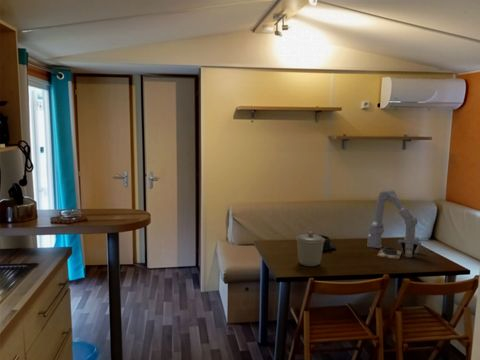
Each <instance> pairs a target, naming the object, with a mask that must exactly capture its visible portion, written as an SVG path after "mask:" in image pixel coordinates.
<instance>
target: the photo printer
mask: <svg viewBox="0 0 480 360" xmlns="http://www.w3.org/2000/svg"><path fill="white" fill-rule="evenodd" d="M405 237H406V234H405V235H404V237H403V240H405ZM414 241H416V242H420V238H419V237H418V236H417V235H415V238H414ZM405 248H411V249H413V244H406V245H405ZM418 253H419V245H418V246H417V248H416V250H415V252H414V254H418Z"/></svg>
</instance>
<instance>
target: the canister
mask: <svg viewBox="0 0 480 360" xmlns="http://www.w3.org/2000/svg"><path fill="white" fill-rule="evenodd" d="M319 235H320V234H315V233H314V232H313V231H311V230H310V231H308V232H307V233H304V234H298V235H297V236H295V240H296V245H297V246H296V247H297V257H298V259H297V260H298V263H300V265H303V266H304V267H305V266H306V267H316V266H319V265H320V263H321V262H322V261H321V260H322V255H323V251H322V250H323V244H324V241H325V239H324V238H323V237H321V236H319Z"/></svg>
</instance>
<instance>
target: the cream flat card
mask: <svg viewBox="0 0 480 360" xmlns="http://www.w3.org/2000/svg"><path fill="white" fill-rule="evenodd" d="M402 252H403V250H398V249H397V248H396V247H391V246H384V247H383V248H382V247H381V248H380V250H379V251H378V253H377V255H376V256H377V257H381V258H386V259H387V258H388V259H395V260H399V259H400V258H401V255H402V254H403V253H402Z"/></svg>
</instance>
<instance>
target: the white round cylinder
mask: <svg viewBox="0 0 480 360" xmlns="http://www.w3.org/2000/svg"><path fill="white" fill-rule="evenodd" d="M412 254H413V249H411V248H405V254H404V257H405V258H413V256H414V255H412Z"/></svg>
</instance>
